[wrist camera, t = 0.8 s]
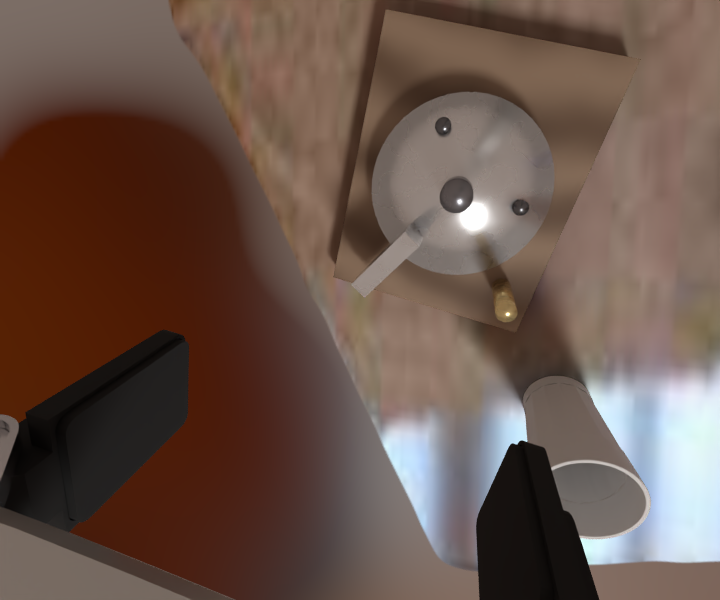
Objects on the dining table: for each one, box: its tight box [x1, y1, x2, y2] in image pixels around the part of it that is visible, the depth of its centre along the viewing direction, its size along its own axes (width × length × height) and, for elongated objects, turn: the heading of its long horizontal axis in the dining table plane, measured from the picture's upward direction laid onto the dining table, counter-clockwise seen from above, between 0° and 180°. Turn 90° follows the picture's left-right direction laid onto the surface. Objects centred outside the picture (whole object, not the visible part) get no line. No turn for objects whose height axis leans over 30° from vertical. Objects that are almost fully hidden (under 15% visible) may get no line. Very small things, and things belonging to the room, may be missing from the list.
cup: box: [523, 376, 651, 539], centre depth 34 cm, size 8×8×12 cm
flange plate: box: [351, 92, 555, 298], centre depth 31 cm, size 18×14×4 cm
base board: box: [333, 9, 641, 333], centre depth 33 cm, size 22×18×2 cm
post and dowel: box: [440, 176, 518, 322], centre depth 31 cm, size 12×2×6 cm, turn 31°
